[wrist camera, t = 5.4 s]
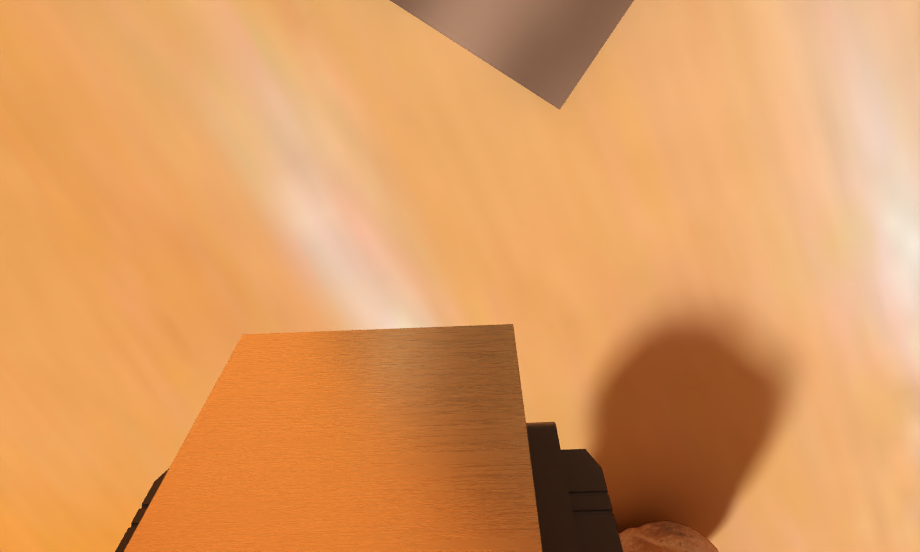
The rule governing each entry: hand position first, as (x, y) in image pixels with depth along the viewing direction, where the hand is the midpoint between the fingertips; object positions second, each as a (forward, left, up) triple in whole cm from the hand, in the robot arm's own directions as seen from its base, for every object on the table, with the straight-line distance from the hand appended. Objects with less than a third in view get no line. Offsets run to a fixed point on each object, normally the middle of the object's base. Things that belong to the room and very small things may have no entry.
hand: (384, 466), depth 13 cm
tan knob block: (0, 0, -1) cm, 1 cm away
